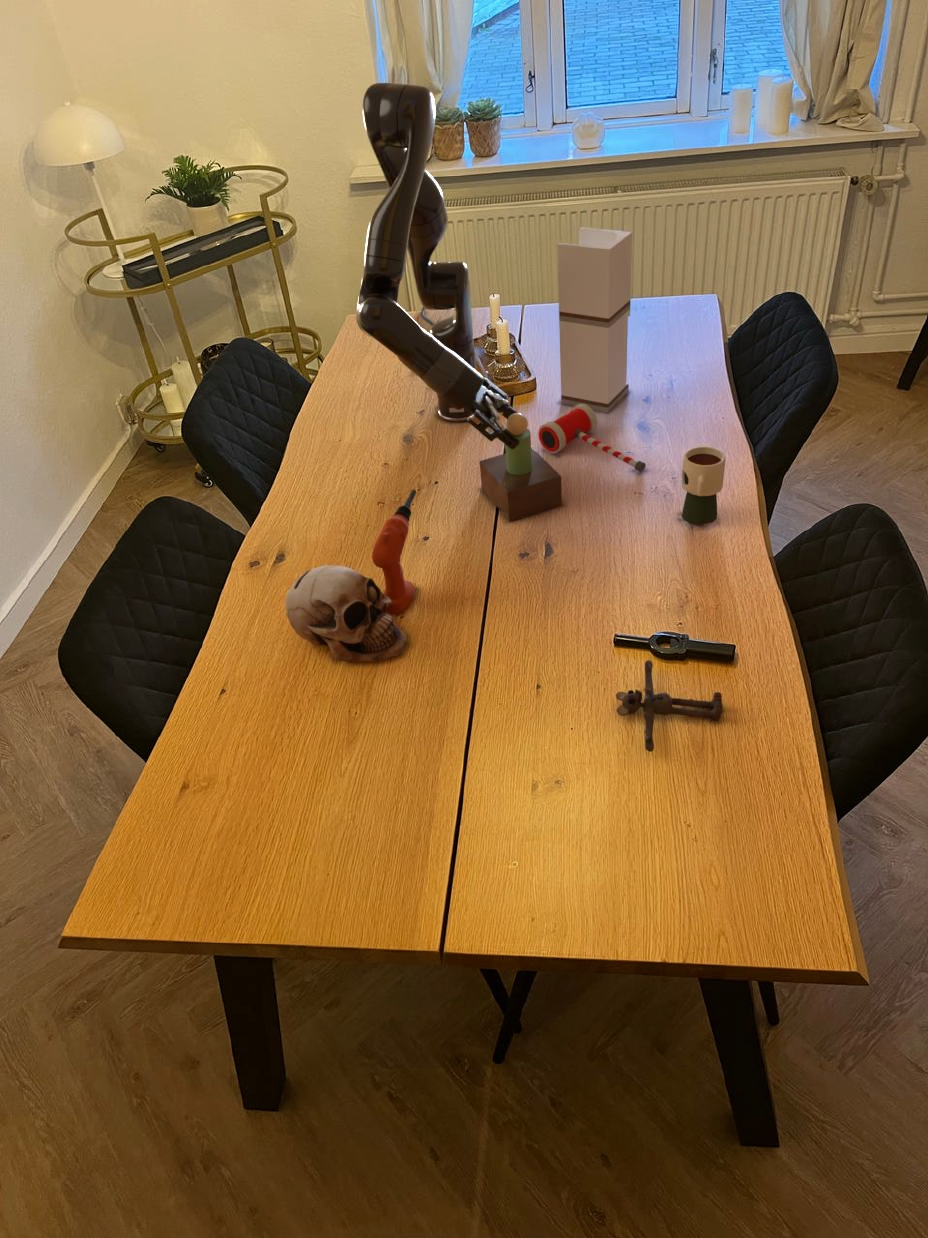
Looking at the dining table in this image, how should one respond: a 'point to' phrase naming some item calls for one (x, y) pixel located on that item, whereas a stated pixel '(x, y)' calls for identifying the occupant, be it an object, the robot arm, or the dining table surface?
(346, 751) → the dining table surface
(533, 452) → the walnut block
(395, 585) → the toy drill
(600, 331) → the beige tall block
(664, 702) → the bear figurine
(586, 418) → the toy hammer
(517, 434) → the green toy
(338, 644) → the coin bank
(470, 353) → the robot arm
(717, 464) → the character mug
